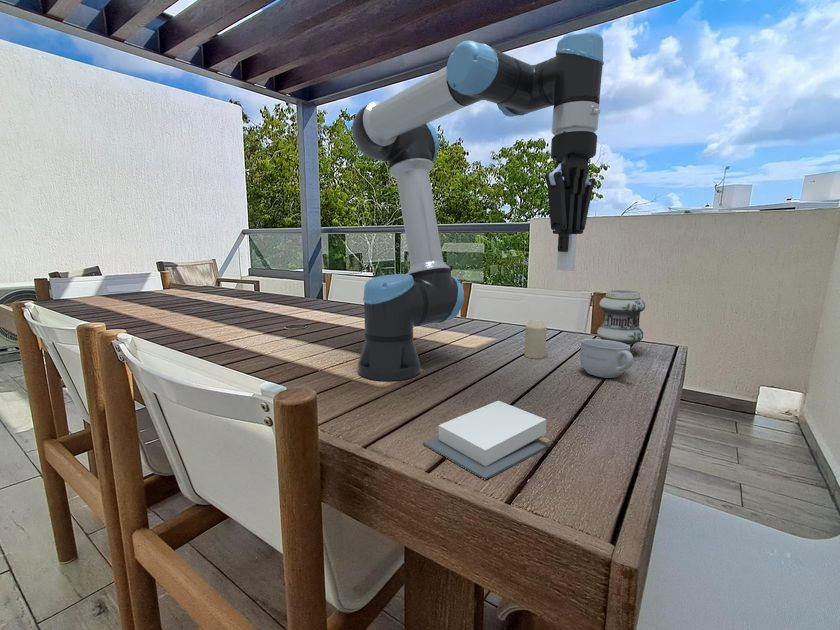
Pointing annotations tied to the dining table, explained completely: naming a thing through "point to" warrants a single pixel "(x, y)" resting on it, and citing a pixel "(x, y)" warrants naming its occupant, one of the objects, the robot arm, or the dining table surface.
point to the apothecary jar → (621, 317)
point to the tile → (492, 431)
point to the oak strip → (543, 441)
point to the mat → (478, 468)
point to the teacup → (605, 357)
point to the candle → (535, 340)
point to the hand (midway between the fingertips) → (565, 270)
